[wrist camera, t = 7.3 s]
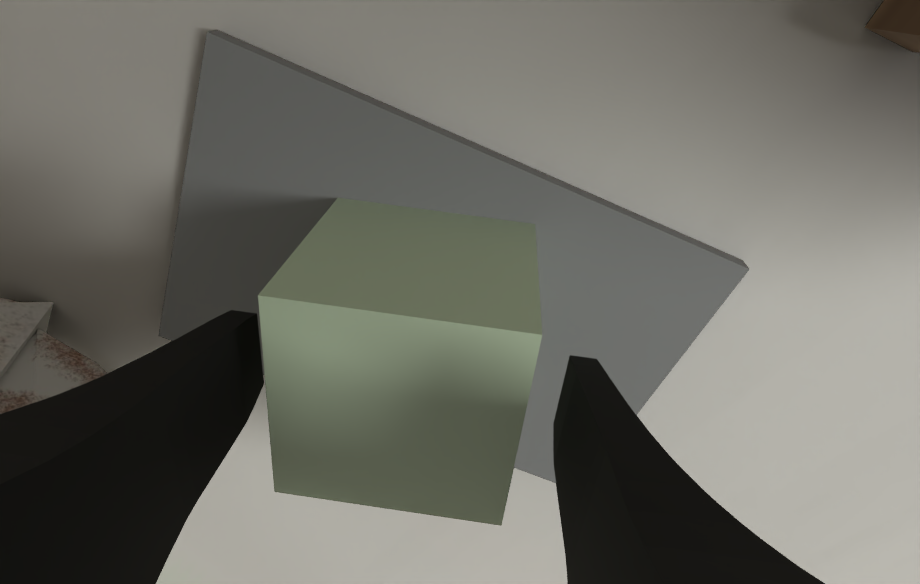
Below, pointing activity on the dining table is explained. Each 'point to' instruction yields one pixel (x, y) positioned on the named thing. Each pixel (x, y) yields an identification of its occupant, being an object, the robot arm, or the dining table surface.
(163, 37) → the dining table surface
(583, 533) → the robot arm
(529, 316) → the cube
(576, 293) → the mat
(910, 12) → the wooden u-shaped frame
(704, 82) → the dining table surface
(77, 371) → the wrench
